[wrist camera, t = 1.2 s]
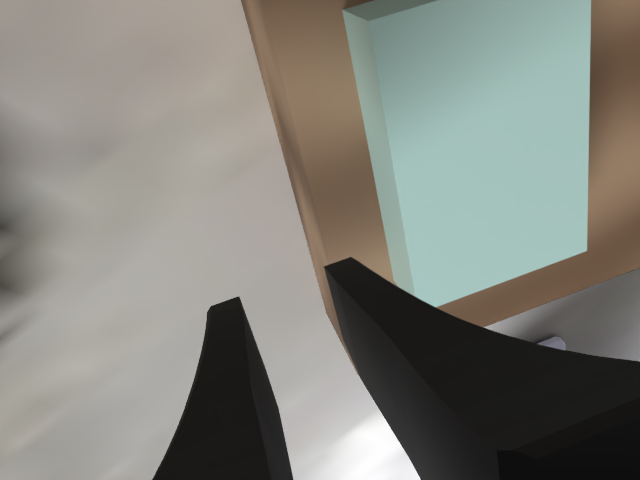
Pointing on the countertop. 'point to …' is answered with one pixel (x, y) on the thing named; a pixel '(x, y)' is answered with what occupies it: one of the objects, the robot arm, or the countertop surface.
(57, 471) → the countertop surface
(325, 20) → the deck
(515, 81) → the pale teal block
